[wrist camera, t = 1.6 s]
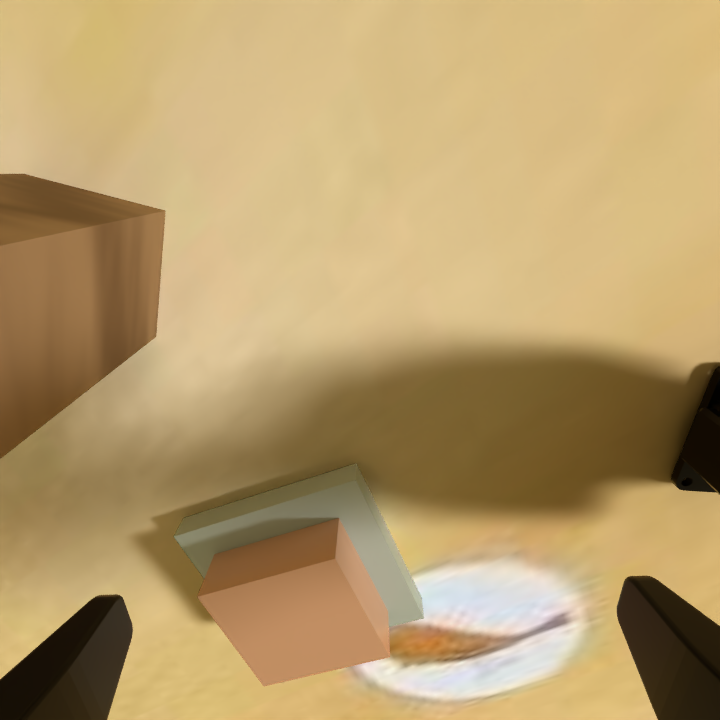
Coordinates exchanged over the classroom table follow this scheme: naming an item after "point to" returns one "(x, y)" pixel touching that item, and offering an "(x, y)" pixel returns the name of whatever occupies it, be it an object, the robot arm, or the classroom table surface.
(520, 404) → the classroom table surface
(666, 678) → the robot arm
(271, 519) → the grey flat square slab
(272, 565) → the terracotta tile
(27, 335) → the walnut pillar
